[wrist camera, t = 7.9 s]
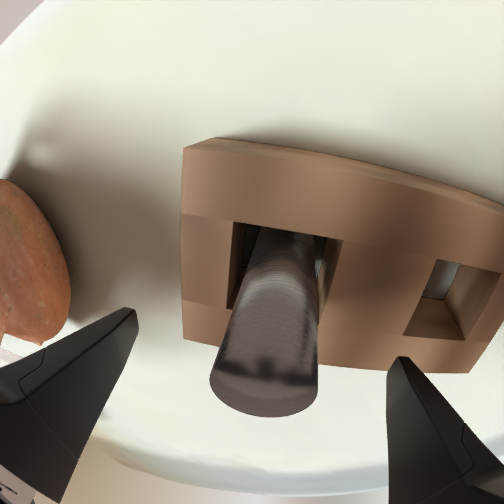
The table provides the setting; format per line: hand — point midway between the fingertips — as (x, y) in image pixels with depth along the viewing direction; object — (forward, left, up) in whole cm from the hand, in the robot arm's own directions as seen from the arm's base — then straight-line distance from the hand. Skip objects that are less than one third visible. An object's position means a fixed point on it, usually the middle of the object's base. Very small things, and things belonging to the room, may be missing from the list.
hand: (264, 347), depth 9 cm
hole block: (-5, 0, -8) cm, 9 cm away
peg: (0, 0, -8) cm, 8 cm away
